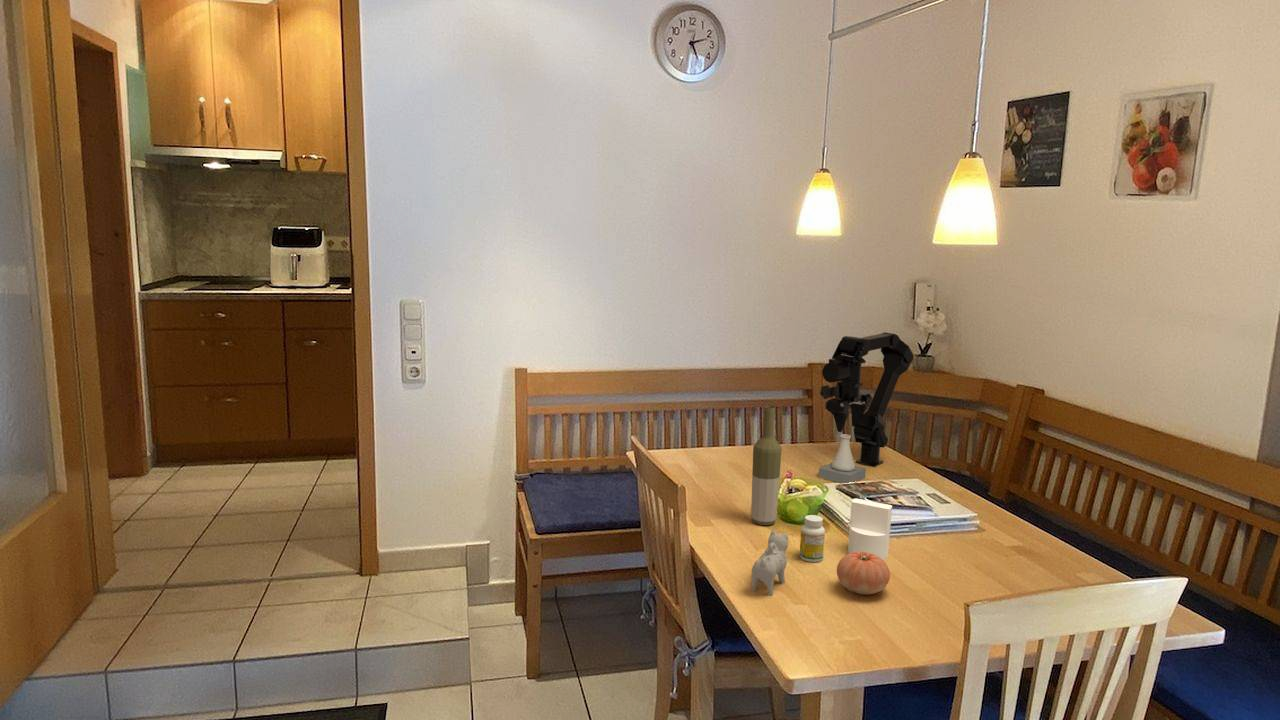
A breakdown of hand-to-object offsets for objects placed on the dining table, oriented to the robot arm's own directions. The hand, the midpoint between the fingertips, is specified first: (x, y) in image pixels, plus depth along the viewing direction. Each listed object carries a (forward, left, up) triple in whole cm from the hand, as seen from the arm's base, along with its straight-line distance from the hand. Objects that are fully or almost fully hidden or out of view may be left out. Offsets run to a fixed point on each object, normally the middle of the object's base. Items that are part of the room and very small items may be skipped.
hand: (846, 429), depth 255 cm
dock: (+7, +3, -13) cm, 15 cm away
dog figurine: (+83, +26, -13) cm, 88 cm away
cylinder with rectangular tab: (+53, +34, -13) cm, 64 cm away
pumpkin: (+72, +42, -13) cm, 84 cm away
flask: (+7, +3, -10) cm, 13 cm away
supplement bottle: (+65, +26, -13) cm, 71 cm away
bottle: (+54, +6, -13) cm, 56 cm away
